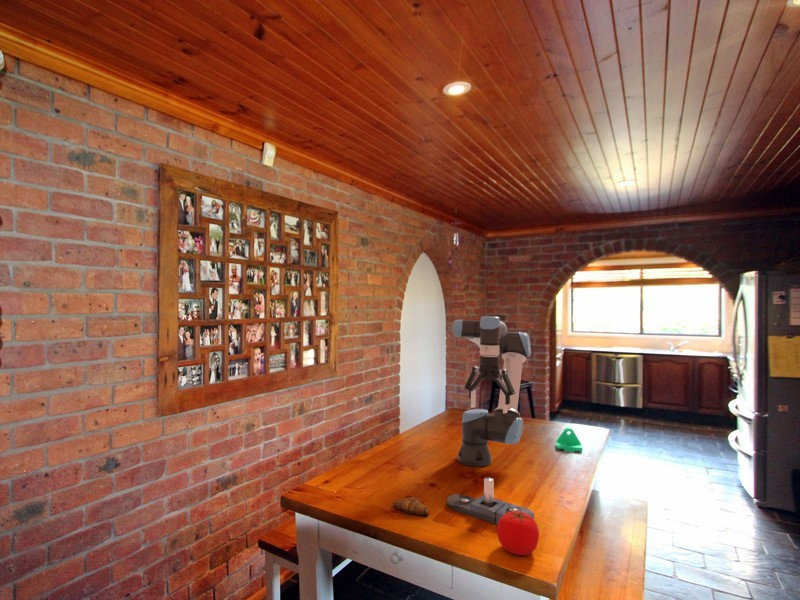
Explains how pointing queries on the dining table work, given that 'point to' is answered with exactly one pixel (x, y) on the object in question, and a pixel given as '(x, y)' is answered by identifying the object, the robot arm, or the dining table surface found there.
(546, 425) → the dining table surface
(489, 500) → the steel pin
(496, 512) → the chain end
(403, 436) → the dining table surface
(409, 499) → the croissant
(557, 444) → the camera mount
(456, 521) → the dining table surface
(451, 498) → the chain end
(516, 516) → the tomato
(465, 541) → the dining table surface
